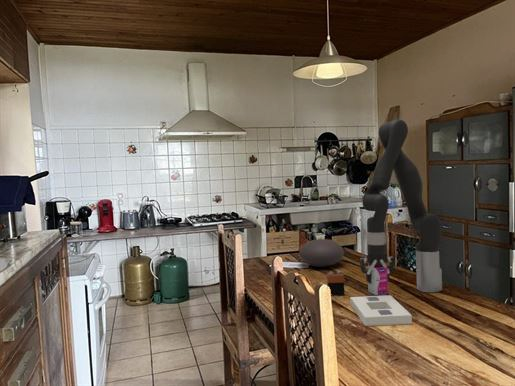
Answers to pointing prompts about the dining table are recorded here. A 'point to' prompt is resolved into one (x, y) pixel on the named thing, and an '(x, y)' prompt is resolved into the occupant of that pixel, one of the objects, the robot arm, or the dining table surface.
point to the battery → (336, 282)
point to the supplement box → (378, 281)
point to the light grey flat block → (380, 310)
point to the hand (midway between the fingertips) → (377, 282)
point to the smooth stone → (321, 252)
